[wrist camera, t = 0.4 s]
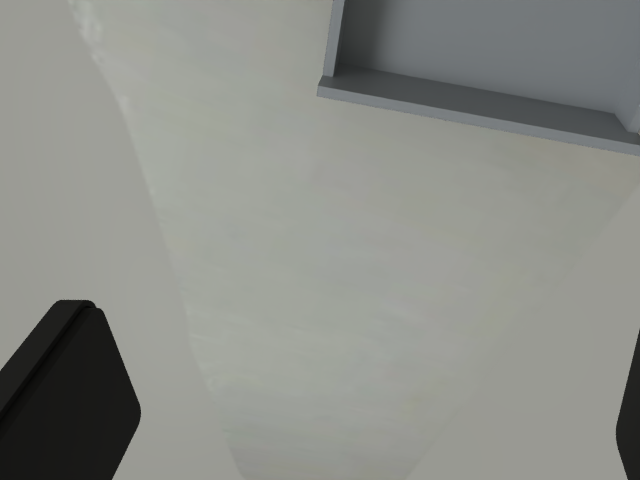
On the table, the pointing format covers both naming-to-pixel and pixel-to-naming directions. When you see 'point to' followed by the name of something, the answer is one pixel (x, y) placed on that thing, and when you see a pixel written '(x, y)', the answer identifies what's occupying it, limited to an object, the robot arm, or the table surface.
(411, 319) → the table surface
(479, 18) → the box
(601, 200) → the table surface
